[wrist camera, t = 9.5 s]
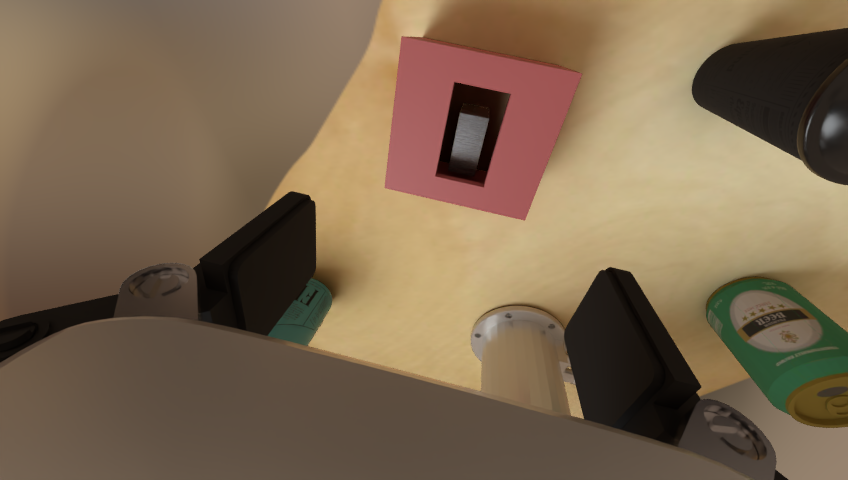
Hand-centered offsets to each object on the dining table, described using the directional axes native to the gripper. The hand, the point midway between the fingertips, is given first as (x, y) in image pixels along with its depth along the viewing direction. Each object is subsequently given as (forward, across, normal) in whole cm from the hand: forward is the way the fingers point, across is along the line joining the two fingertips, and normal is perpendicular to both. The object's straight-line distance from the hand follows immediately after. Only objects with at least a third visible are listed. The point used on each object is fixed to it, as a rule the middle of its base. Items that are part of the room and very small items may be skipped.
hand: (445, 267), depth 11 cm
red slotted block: (+24, 0, 0) cm, 24 cm away
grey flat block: (+22, 0, -1) cm, 22 cm away
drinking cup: (+24, -19, -7) cm, 32 cm away
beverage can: (+24, -34, +13) cm, 44 cm away
